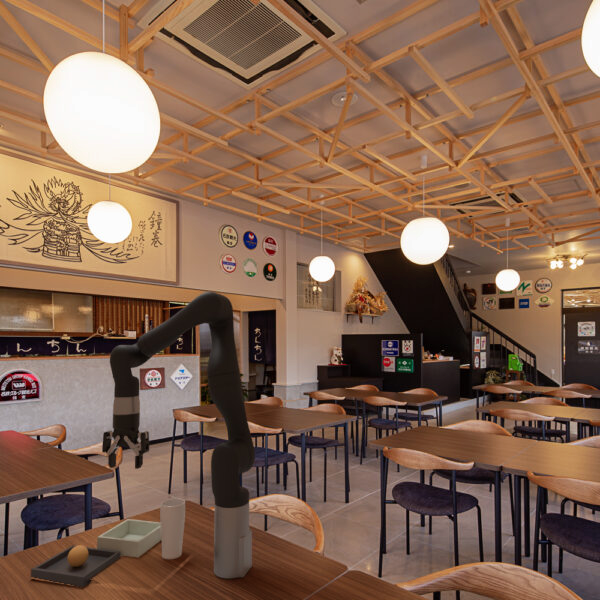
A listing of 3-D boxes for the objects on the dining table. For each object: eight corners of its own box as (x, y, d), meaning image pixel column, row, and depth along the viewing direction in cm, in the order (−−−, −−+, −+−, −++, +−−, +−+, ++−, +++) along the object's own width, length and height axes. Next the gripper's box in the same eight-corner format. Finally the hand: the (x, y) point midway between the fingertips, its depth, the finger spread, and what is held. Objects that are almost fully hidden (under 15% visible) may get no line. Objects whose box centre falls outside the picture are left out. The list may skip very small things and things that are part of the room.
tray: (120, 561, 121) (120, 551, 121) (82, 588, 107) (83, 577, 108) (72, 554, 125) (72, 545, 125) (30, 579, 111) (31, 569, 112)
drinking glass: (158, 565, 118) (160, 507, 120) (159, 554, 124) (161, 499, 126) (184, 562, 120) (185, 505, 121) (184, 551, 126) (185, 497, 128)
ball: (92, 562, 118) (92, 543, 118) (78, 571, 113) (79, 551, 114) (77, 560, 119) (77, 541, 120) (62, 569, 114) (63, 549, 115)
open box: (165, 540, 134) (165, 523, 134) (138, 561, 121) (138, 542, 121) (127, 535, 137) (127, 518, 138) (96, 555, 124) (97, 536, 125)
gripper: (154, 410, 133) (153, 465, 131) (113, 409, 136) (112, 463, 134) (140, 413, 126) (139, 472, 124) (97, 413, 129) (95, 470, 127)
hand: (125, 467), depth 129 cm, fingers open, 8 cm apart
